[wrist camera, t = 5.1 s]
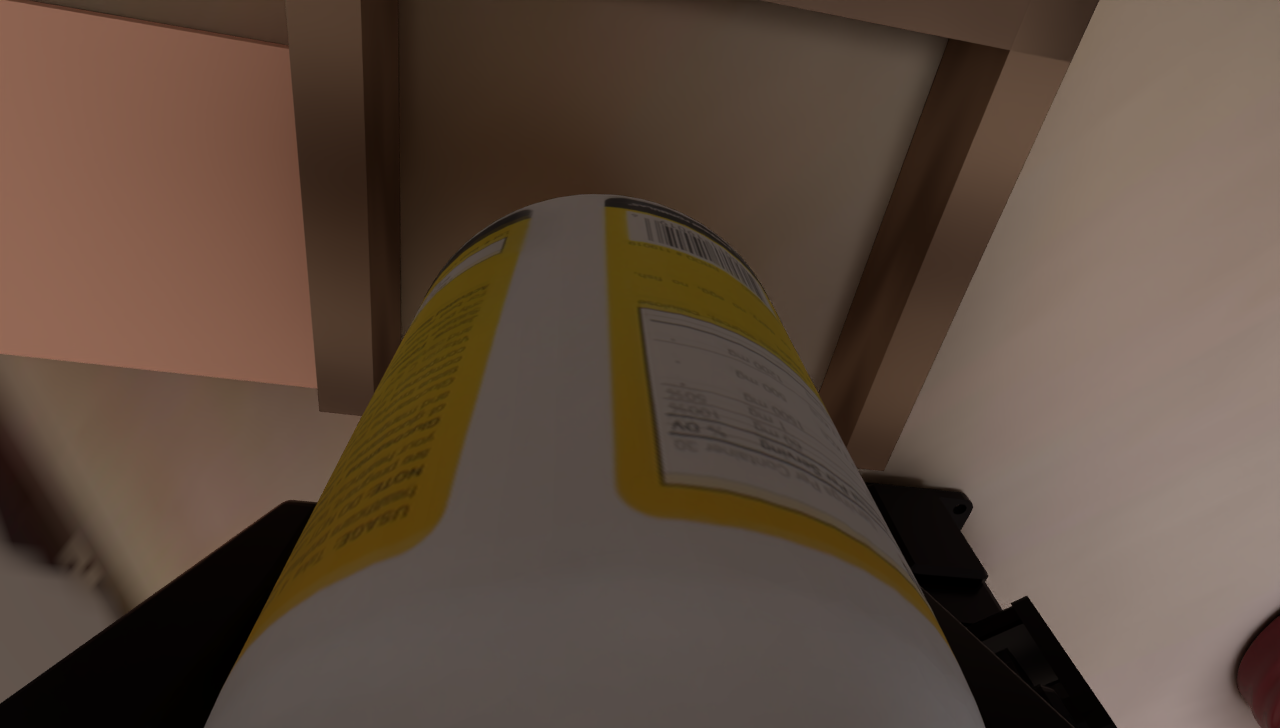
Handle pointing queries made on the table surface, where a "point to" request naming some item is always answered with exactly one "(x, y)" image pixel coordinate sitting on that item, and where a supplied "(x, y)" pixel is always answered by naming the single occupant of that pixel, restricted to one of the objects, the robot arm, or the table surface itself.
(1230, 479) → the table surface
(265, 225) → the terracotta mat
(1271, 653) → the canister
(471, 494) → the pill bottle
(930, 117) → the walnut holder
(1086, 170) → the table surface
